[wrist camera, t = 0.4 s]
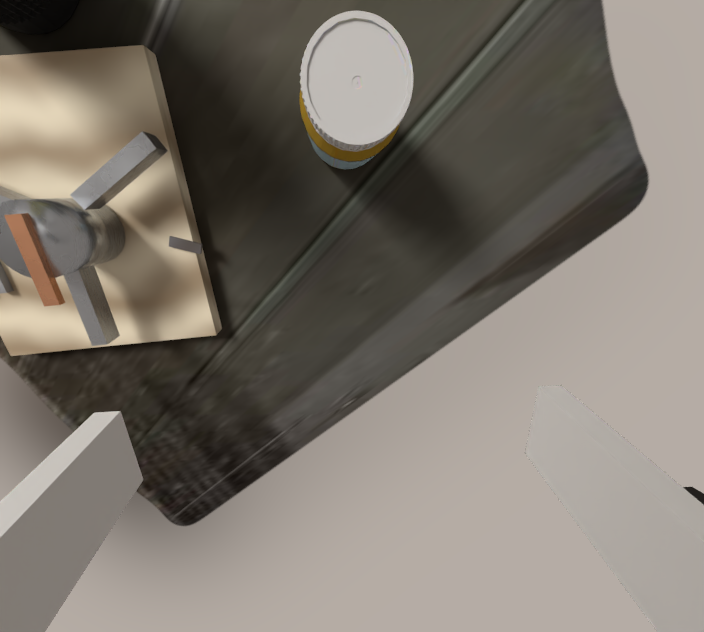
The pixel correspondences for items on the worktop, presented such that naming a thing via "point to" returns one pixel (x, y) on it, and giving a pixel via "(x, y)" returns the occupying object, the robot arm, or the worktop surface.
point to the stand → (129, 205)
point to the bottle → (354, 87)
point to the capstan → (75, 235)
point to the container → (35, 14)
